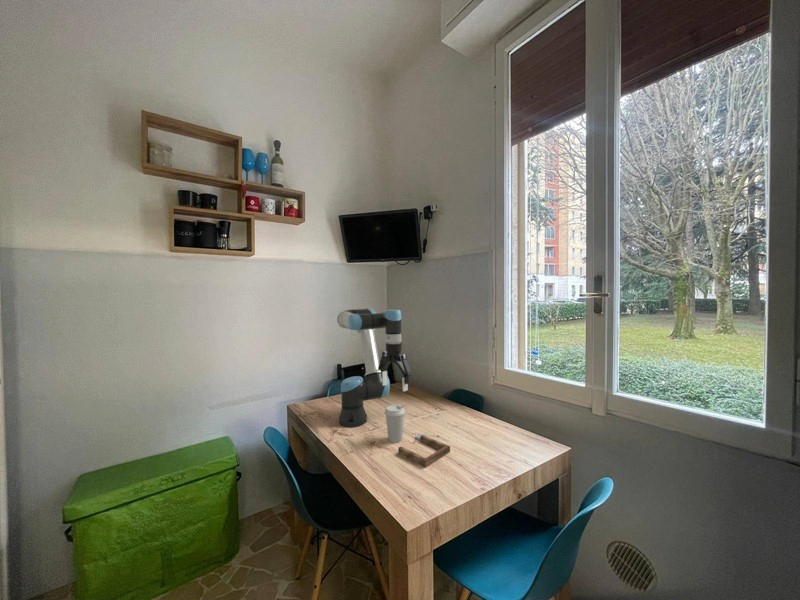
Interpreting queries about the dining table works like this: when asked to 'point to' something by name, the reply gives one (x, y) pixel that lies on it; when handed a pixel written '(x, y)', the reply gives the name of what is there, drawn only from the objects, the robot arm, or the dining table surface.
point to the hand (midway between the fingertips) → (394, 387)
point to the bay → (430, 459)
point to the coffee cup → (395, 422)
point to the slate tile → (419, 436)
